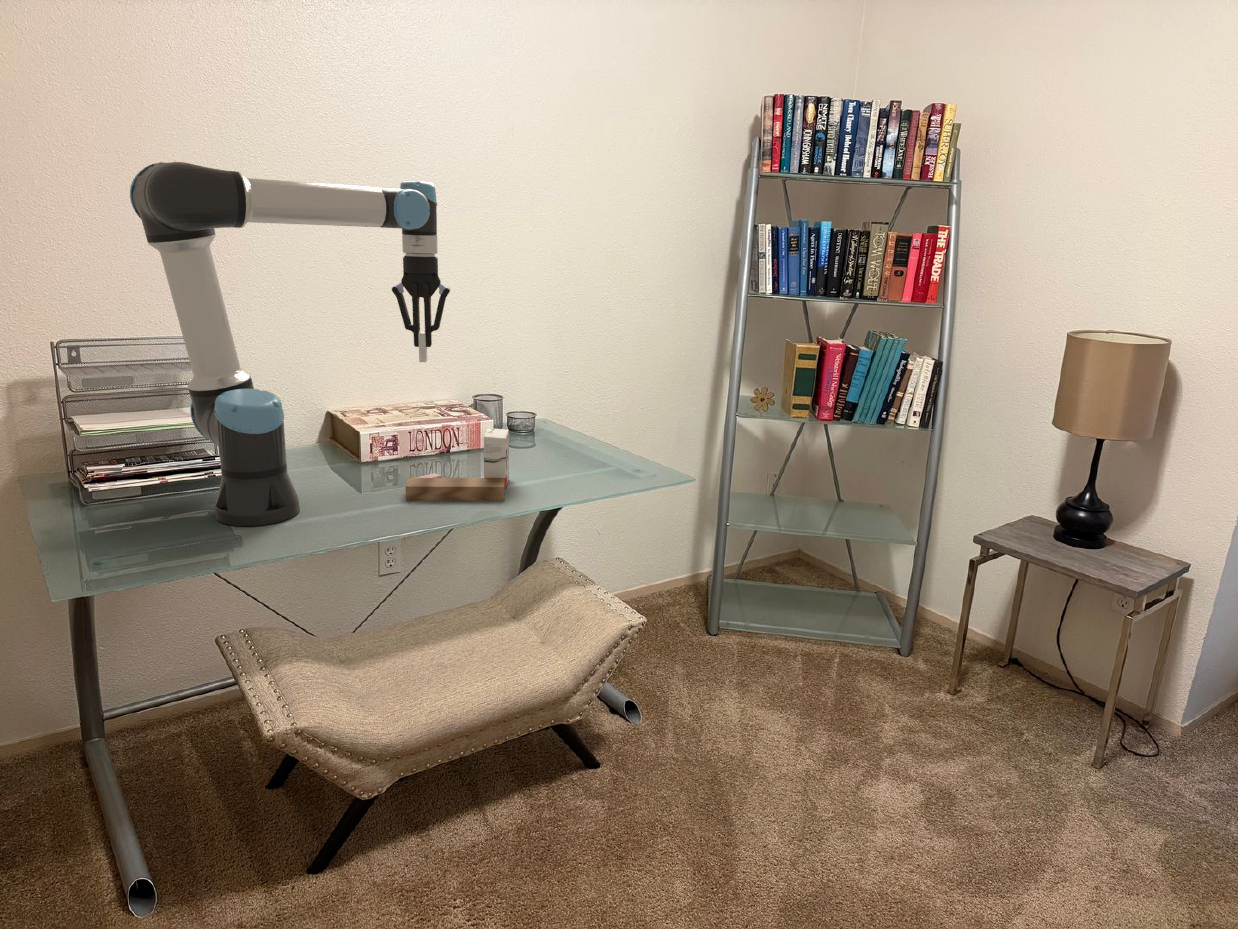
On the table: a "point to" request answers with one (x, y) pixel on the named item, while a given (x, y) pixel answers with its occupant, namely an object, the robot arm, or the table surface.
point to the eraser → (430, 476)
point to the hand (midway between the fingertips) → (423, 361)
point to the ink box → (496, 454)
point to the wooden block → (455, 489)
